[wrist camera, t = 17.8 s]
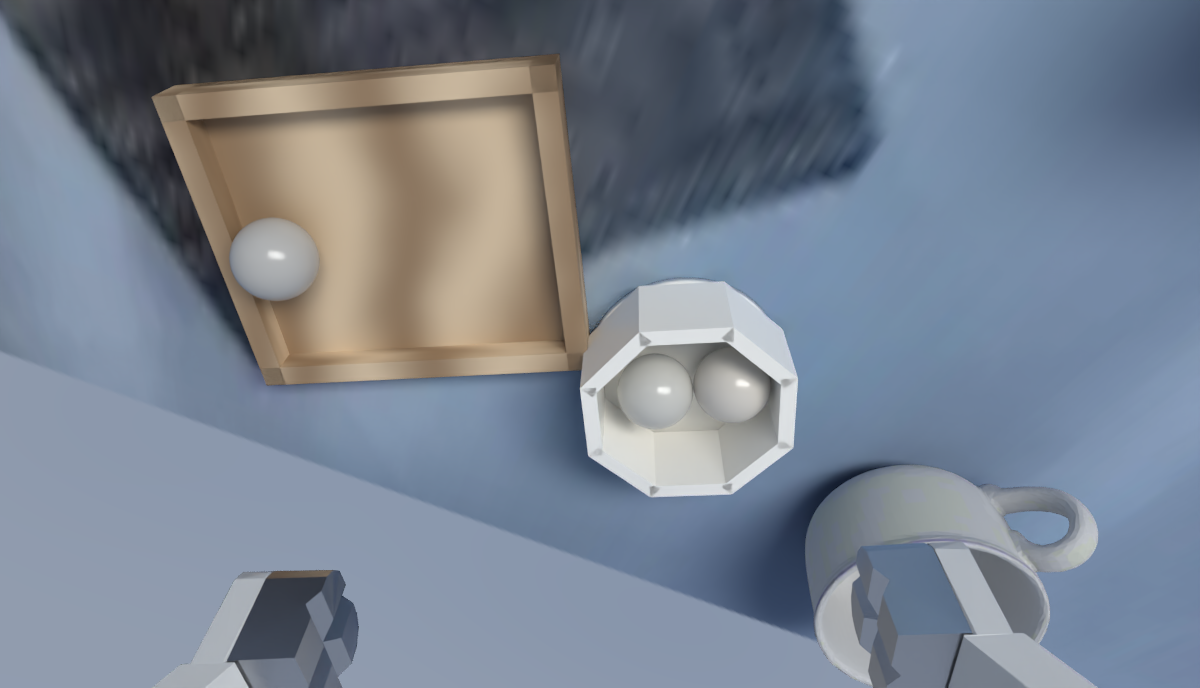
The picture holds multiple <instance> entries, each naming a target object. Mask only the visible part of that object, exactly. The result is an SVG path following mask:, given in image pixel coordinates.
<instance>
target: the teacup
mask: <svg viewBox="0 0 1200 688" xmlns="http://www.w3.org/2000/svg"><path fill="white" fill-rule="evenodd" d="M1024 511H1044V512H1052V513H1056V514H1060V515H1062V516H1065V517H1066V518H1068V520H1069V529H1068V533H1067V534H1066V535H1065V536H1064V537H1063V538H1062V539H1061V540H1059V541H1057V542H1055V543H1052V544H1047V545H1038V544H1034V543H1032V542H1030V541H1028V540H1027V539H1026V538H1025V537H1024V536H1023V535H1022V534H1021V533H1019V532H1018V531H1015V530H1011V529H1010V527H1009V525H1008V524H1007V522H1006V520H1005V519H1004V516H1005V515H1006V514H1010V513H1016V512H1024ZM940 542H963V543H964V544H965V545H966V546H968V548H969V550H970V552H971V554H972V556H973V557H974V559H975V561H976V563H977V565H978V567H979V569H980V571H981V573H982V575H983V576H984V578H985V580H986V582H987V584H988V586H989V588H990V590H991V592H992V594H993V595H994V597H995V599H996V601H997V603H998V605H999V607H1000V609H1001V611H1002V613H1003V614H1004V616H1005V618H1006V620H1007V622H1008V624H1009V626H1010V628H1011V630H1012V632H1013V633H1024V634H1026V635H1027V636H1029V637H1030V638H1031V639H1033V640H1034V641H1035V642H1037V643H1038V644H1039V643H1040V641H1041V640H1042V638H1043V636H1044V634H1045V632H1046V630H1047V626H1048V623H1049V621H1050V605H1049V599H1048V596H1047V594H1046V591H1045V588H1044V586H1043V584H1042V582H1041V581H1040V579H1039V577H1038V575H1037V574H1036V573H1035V572H1038V571H1039V572H1063V571H1066V570H1070V569H1073V568H1076V567H1078V566H1079V565H1081V564H1083V563H1084V562H1085V561H1086V560H1087V559H1088V558H1090V557H1091V555H1092V554H1093V552H1094V550H1095V548H1096V546H1097V542H1098V530H1097V525H1096V522H1095V520H1094V517H1093V516H1092V514H1091V513H1090V511H1089V510H1088V509H1087V508H1086V507H1085V506H1084V505H1083V504H1082V503H1081V502H1080V501H1079V500H1078V499H1076V498H1075V497H1073V496H1072V495H1070V494H1068V493H1066V492H1063V491H1061V490H1057V489H1053V488H1046V487H1013V488H1000V487H998V486H996V485H992V484H984V485H981V486H975V485H973V484H972V483H971V482H969V481H967V480H966V479H964V478H962V477H960V476H958V475H956V474H954V473H951V472H948V471H945V470H942V469H939V468H935V467H929V466H924V465H894V466H888V467H883V468H878V469H874V470H871V471H867V472H865V473H862V474H860V475H858V476H856V477H854V478H852V479H850V480H848V481H846V482H844V483H843V484H841V485H840V486H839V487H837V488H836V489H835V490H833V491H832V492H831V493H830V494H829V495H828V496H827V497H826V498H825V499H824V500H823V502H822V503H821V504H820V505H819V506H818V508H817V509H816V511H815V513H814V515H813V517H812V519H811V521H810V524H809V527H808V530H807V535H806V540H805V561H806V570H807V577H808V584H809V590H810V595H811V601H812V606H813V611H814V631H815V636H816V638H817V641H818V644H819V646H820V648H821V650H822V651H823V653H824V655H825V656H826V657H827V659H828V660H829V661H830V663H831V664H832V665H834V666H836V667H837V668H838V669H839V670H840V671H842V672H844V673H845V674H846V675H848V676H849V677H851V678H853V679H855V680H858V681H861V682H862V683H864V684H866V685H869V686H873V685H872V682H871V679H870V676H869V673H868V668H869V663H870V657H871V654H870V653H869V652H867V651H866V650H865V649H864V648H863V647H862V646H861V645H859V641H858V638H857V635H856V631H855V627H854V623H853V618H852V608H851V592H852V583H853V582H854V581H855V580H856V579H857V578H858V577H860V574H859V571H858V568H857V565H856V558H857V553H858V550H859V549H860V547H861V546H874V545H892V544H910V543H926V544H927V543H940Z"/></svg>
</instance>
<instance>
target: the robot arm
mask: <svg viewBox="0 0 1200 688" xmlns="http://www.w3.org/2000/svg"><path fill="white" fill-rule="evenodd" d="M856 565H857V568H858V571H859V574H860V577H858V578H857V579H856V580H855V581H854V582H853V583H852V592H851V608H852V618H853V623H854V627H855V631H856V635H857V638H858V641H859V645H861V646H862V647H863V648H864V649H865V650H866V651H867V652H869V653H870V654H871V657H870V663H869V668H868V673H869V676H870V679H871V682H872V685H873V688H1098V687H1096V686H1095V685H1094V684H1092V683H1091V682H1089V681H1088V680H1087V679H1085V678H1084V677H1083V676H1081V675H1080V674H1079V673H1077V672H1076V671H1075V670H1073V669H1072V668H1071V667H1069V666H1068V665H1066V664H1065V663H1064V662H1062V661H1061V660H1060V659H1058V658H1057V657H1056V656H1054V655H1053V654H1052V653H1050V652H1049V651H1047V650H1046V649H1045V648H1043V647H1042V646H1041V645H1039V644H1038V643H1037V642H1035V641H1034V640H1033V639H1031V638H1030V637H1029V636H1027V635H1026V634H1024V633H1013V632H1012V630H1011V628H1010V626H1009V624H1008V622H1007V620H1006V618H1005V616H1004V614H1003V613H1002V611H1001V609H1000V607H999V605H998V603H997V601H996V599H995V597H994V595H993V594H992V592H991V590H990V588H989V586H988V584H987V582H986V580H985V578H984V576H983V575H982V573H981V571H980V569H979V567H978V565H977V563H976V561H975V559H974V557H973V556H972V554H971V552H970V550H969V548H968V546H966V545H965V544H964V543H963V542H940V543H927V544H926V543H910V544H892V545H874V546H861V547H860V549H859V550H858V553H857V558H856ZM345 585H346V584H345V582H344V580H343V577H342V575H341V573H340V571H336V570H319V571H318V570H315V571H269V572H243V573H242V574H241V575H239V576H238V577H237V578H236V579H235V580H234V582H233V583H232V585H231V587H230V589H229V591H228V593H227V595H226V597H225V599H224V601H223V602H222V604H221V606H220V608H219V610H218V612H217V614H216V616H215V618H214V620H213V622H212V623H211V625H210V627H209V629H208V631H207V633H206V635H205V637H204V639H203V641H202V642H201V645H200V646H199V648H198V650H197V652H196V654H195V656H194V658H193V660H192V662H191V663H190V664H181V665H180V666H178V667H177V668H176V669H175V670H173V671H172V672H171V673H170V674H168V675H167V676H166V677H165V678H163V679H162V680H161V681H160V682H159V683H157V684H156V685H155V686H154V687H153V688H342V686H341V683H340V681H339V679H338V676H339V675H340V674H341V673H342V672H343V671H344V670H345V669H346V668H347V667H348V666H349V665H350V664H351V663H352V661H353V657H354V654H355V650H356V647H357V638H358V628H359V626H358V619H357V612H356V610H355V607H354V604H353V603H352V602H351V601H349V600H348V599H346V598H345V597H343V596H342V594H343V591H344V588H345Z"/></svg>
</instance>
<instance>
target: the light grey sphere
mask: <svg viewBox="0 0 1200 688" xmlns="http://www.w3.org/2000/svg"><path fill="white" fill-rule="evenodd" d="M617 397H618V401H619V405H620V407H621V409H622V411H623V413H624V414H625V415H626V416H627V418H628V419H630V420H631V421H632V422H633V423H635V424H636V425H638V426H640V427H643V428H646V429H653V430H658V429H664V428H668V427H670V426H673V425H674V424H676V423H677V422H679V421H680V420H681V419H682V418H683V417H684V416H685V415H686V413H687V412H688V410H689V408H690V406H691V403H692V400H693V384H692V380H691V377H690V375H689V373H688V371H687V370H686V368H685V367H684V366H683V365H682V364H681V363H680V362H679V361H677V360H676V359H674V358H672V357H670V356H668V355H664V354H658V353H652V354H646V355H643V356H640V357H638V358H636V359H634V360H633V361H631V362H630V363H629V364H628V365H627V366H626V368H625V369H624V370H623V372H622V374H621V376H620V378H619V381H618V386H617Z"/></svg>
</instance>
